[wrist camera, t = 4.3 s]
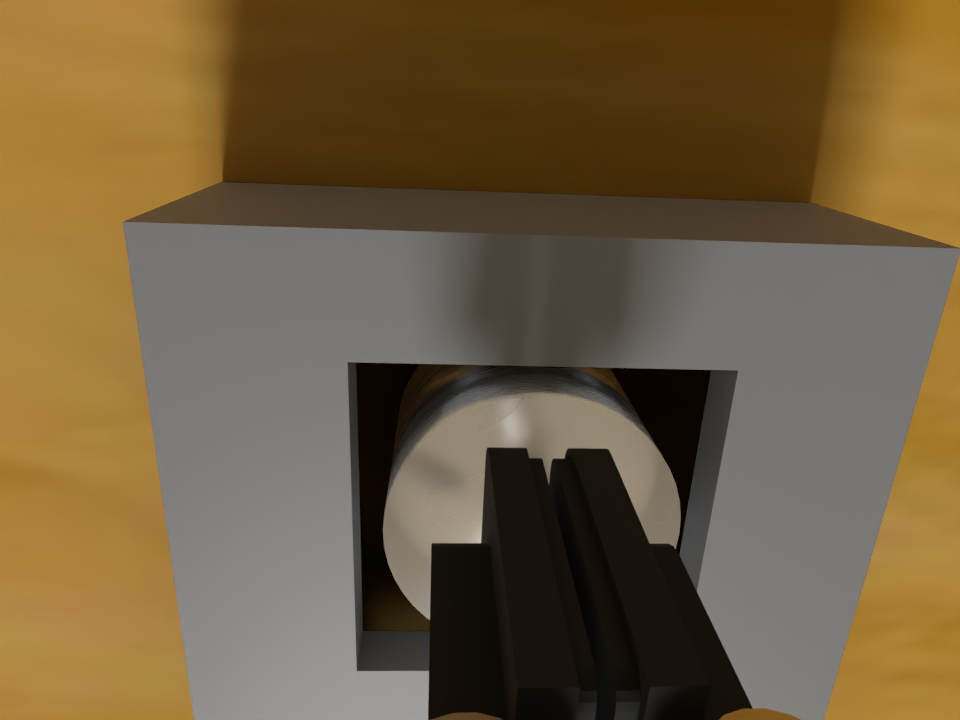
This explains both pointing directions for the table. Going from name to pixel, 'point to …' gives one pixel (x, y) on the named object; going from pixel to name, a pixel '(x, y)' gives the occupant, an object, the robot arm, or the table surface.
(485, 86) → the table surface
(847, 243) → the button housing
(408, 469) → the cream short cylinder
